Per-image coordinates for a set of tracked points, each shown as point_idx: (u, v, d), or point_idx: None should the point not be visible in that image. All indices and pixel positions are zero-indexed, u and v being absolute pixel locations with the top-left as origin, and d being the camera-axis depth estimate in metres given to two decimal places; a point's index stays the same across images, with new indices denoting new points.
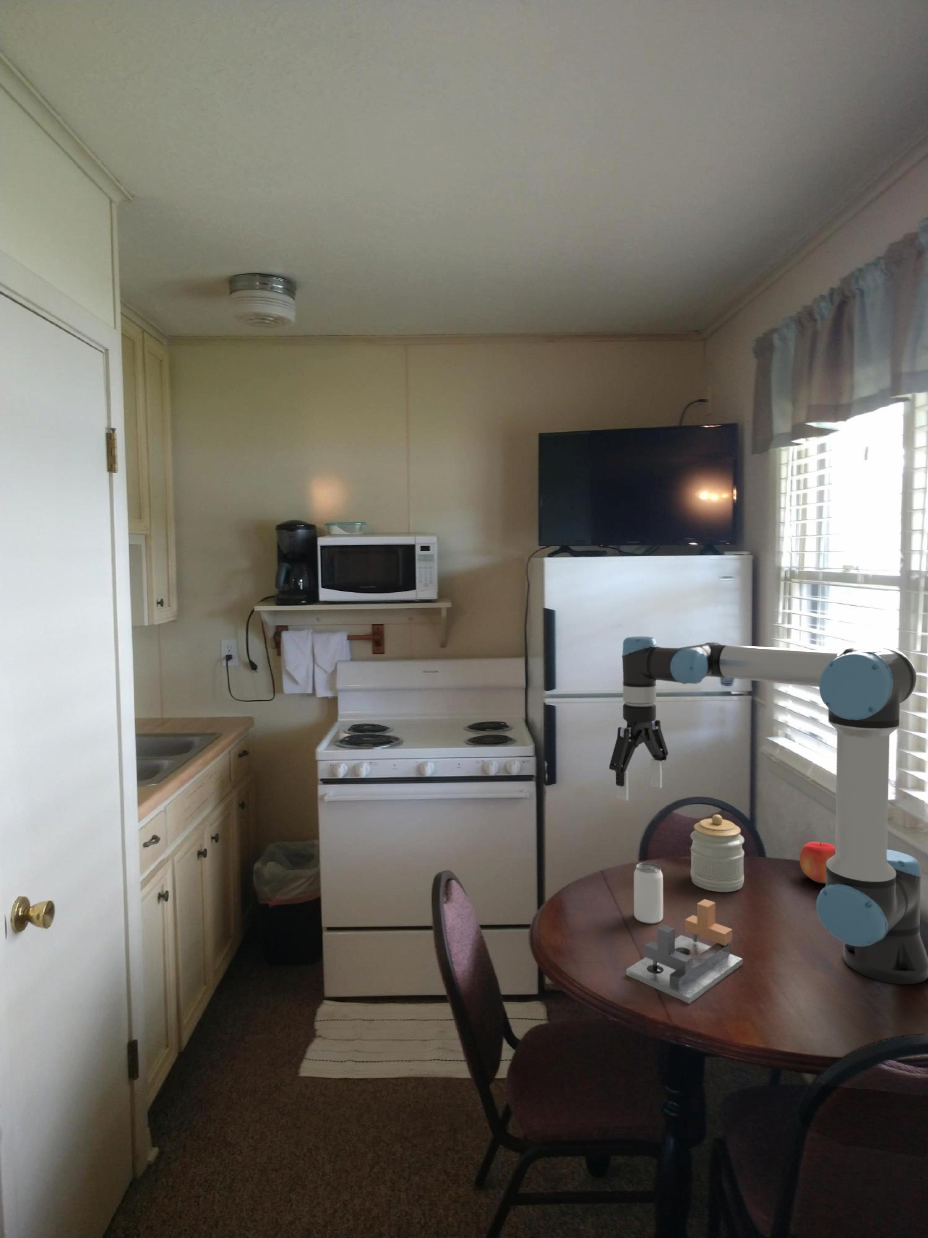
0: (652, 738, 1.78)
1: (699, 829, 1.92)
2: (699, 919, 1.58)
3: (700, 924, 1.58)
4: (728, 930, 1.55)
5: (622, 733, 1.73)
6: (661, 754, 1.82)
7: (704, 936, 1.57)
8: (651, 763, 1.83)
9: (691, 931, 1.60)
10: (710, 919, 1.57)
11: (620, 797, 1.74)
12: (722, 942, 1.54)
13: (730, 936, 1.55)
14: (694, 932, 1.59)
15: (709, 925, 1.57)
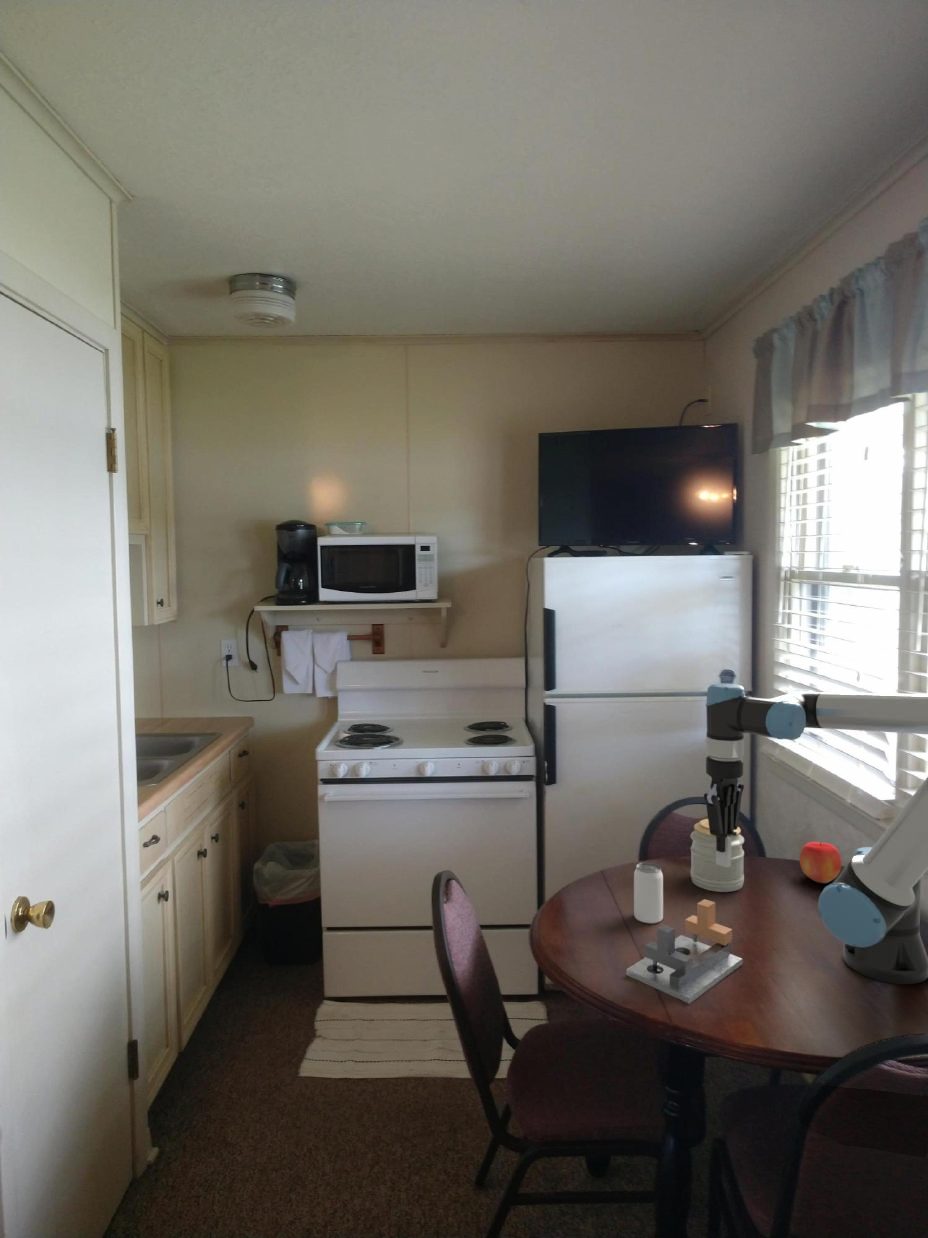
0: (734, 798, 1.62)
1: (699, 829, 1.92)
2: (699, 919, 1.58)
3: (700, 924, 1.58)
4: (728, 930, 1.55)
5: (710, 801, 1.58)
6: (732, 827, 1.63)
7: (704, 936, 1.57)
8: None
9: (691, 931, 1.60)
10: (710, 919, 1.57)
11: (720, 863, 1.63)
12: (722, 942, 1.54)
13: (730, 936, 1.55)
14: (694, 932, 1.59)
15: (709, 925, 1.57)
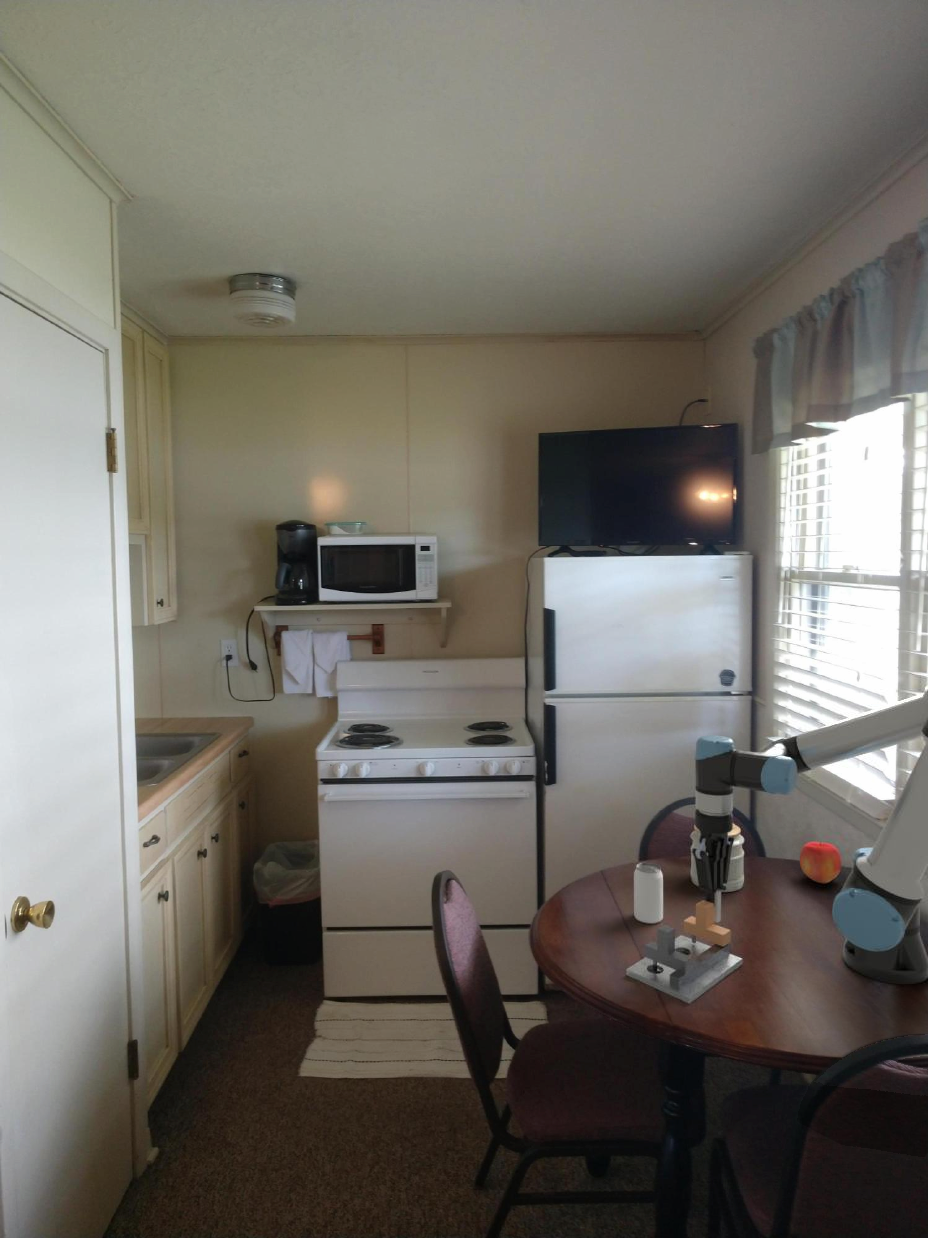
0: (723, 853, 1.59)
1: None
2: (697, 920, 1.58)
3: (698, 925, 1.58)
4: (727, 931, 1.55)
5: (699, 857, 1.56)
6: (722, 882, 1.60)
7: (702, 937, 1.57)
8: None
9: (689, 932, 1.59)
10: (709, 920, 1.57)
11: None
12: (721, 943, 1.54)
13: (728, 937, 1.55)
14: (692, 933, 1.59)
15: (708, 926, 1.57)
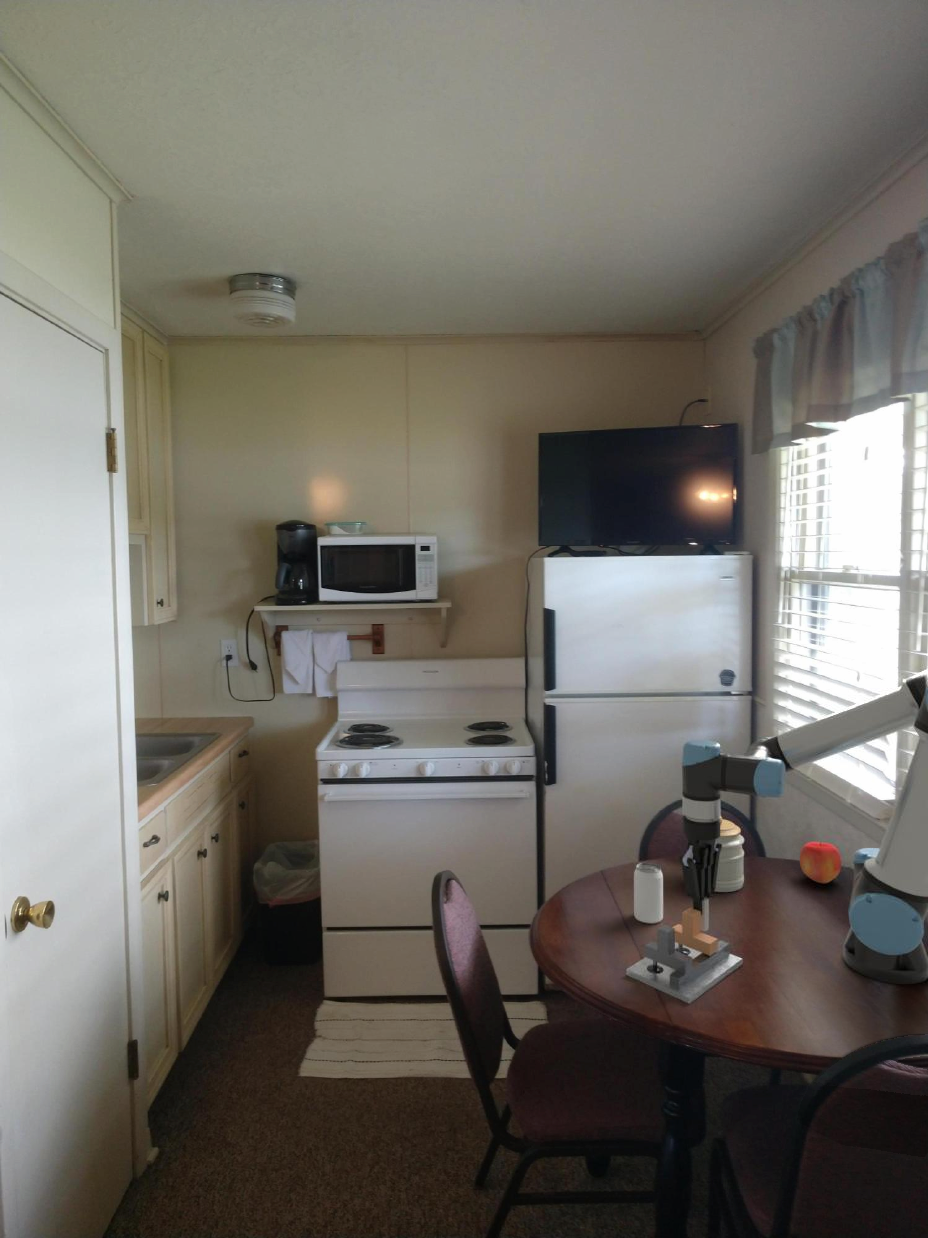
0: (711, 860, 1.56)
1: None
2: (684, 928, 1.54)
3: (685, 933, 1.54)
4: (713, 940, 1.52)
5: (686, 864, 1.52)
6: (710, 889, 1.57)
7: (689, 946, 1.54)
8: None
9: (676, 940, 1.56)
10: (696, 928, 1.54)
11: None
12: (707, 952, 1.51)
13: (715, 946, 1.52)
14: (679, 941, 1.55)
15: (694, 934, 1.53)
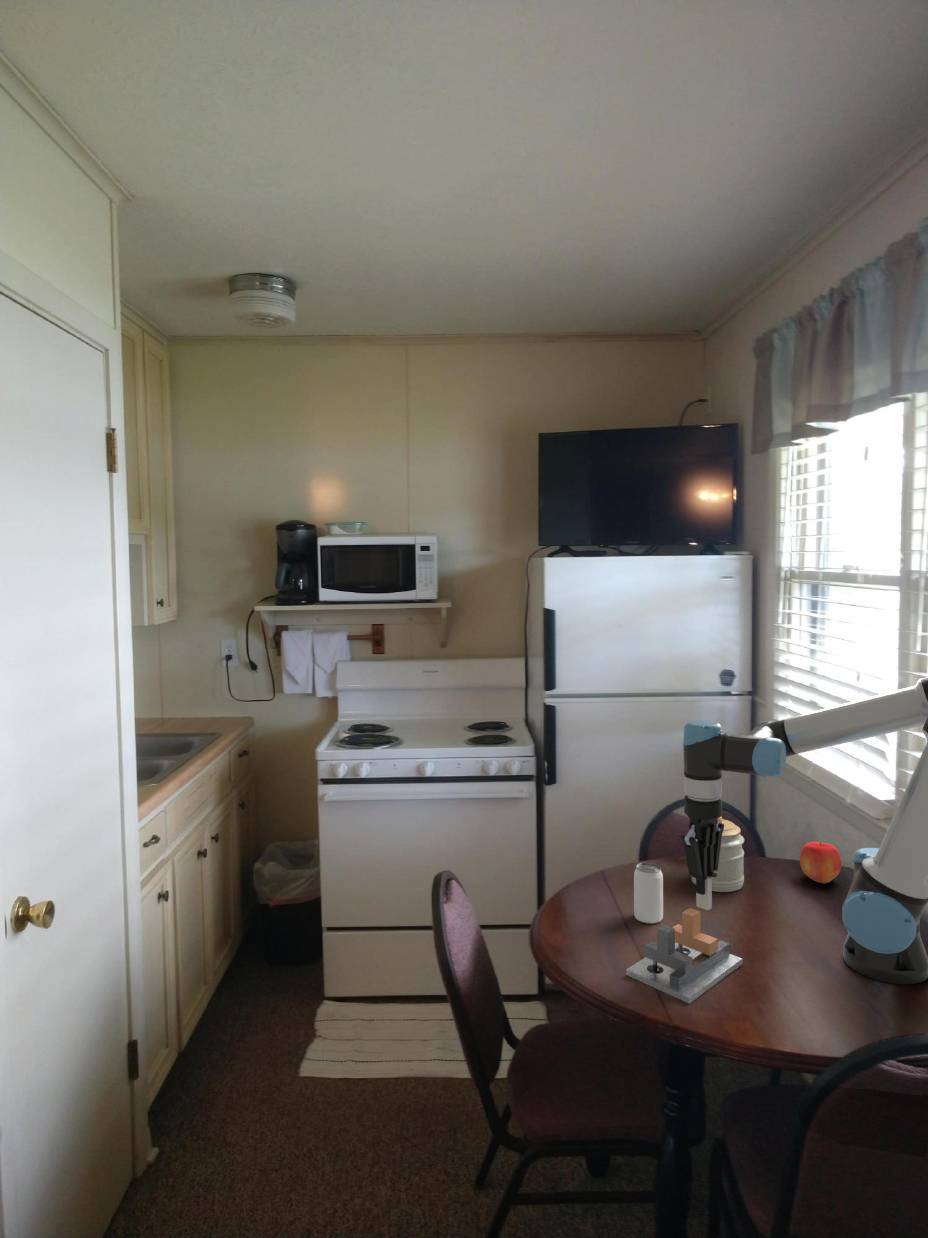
0: (713, 839, 1.57)
1: None
2: (684, 928, 1.54)
3: (685, 933, 1.54)
4: (713, 940, 1.52)
5: (688, 843, 1.54)
6: (712, 868, 1.58)
7: (689, 946, 1.54)
8: None
9: (676, 941, 1.56)
10: (695, 928, 1.54)
11: (701, 906, 1.59)
12: (707, 952, 1.51)
13: (715, 946, 1.52)
14: (679, 942, 1.55)
15: (694, 935, 1.53)
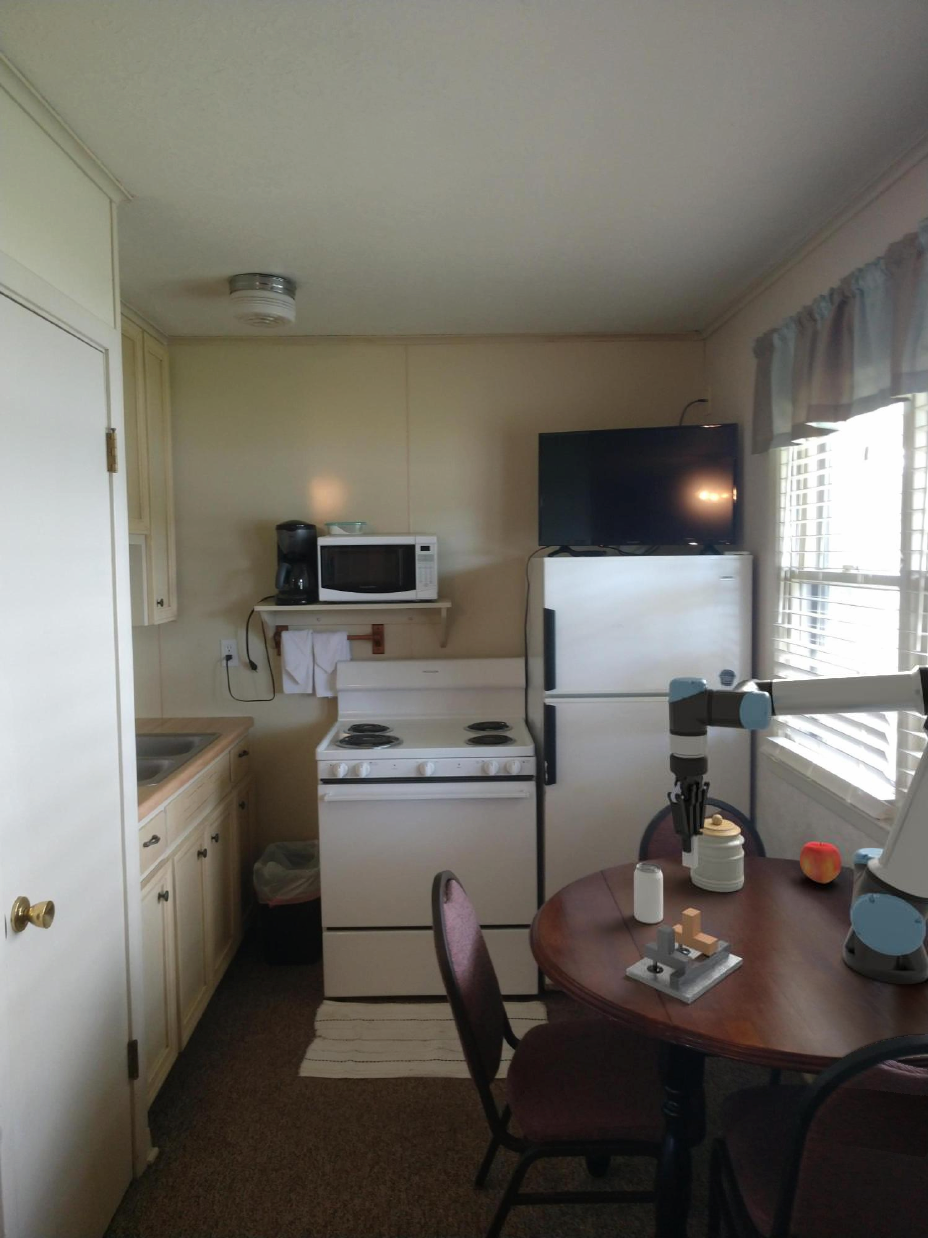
0: (699, 797, 1.56)
1: None
2: (684, 928, 1.54)
3: (685, 933, 1.54)
4: (713, 940, 1.52)
5: (674, 800, 1.52)
6: (698, 827, 1.57)
7: (689, 946, 1.54)
8: None
9: (676, 941, 1.56)
10: (695, 928, 1.54)
11: (687, 864, 1.57)
12: (707, 952, 1.51)
13: (715, 946, 1.52)
14: (679, 942, 1.55)
15: (694, 935, 1.53)
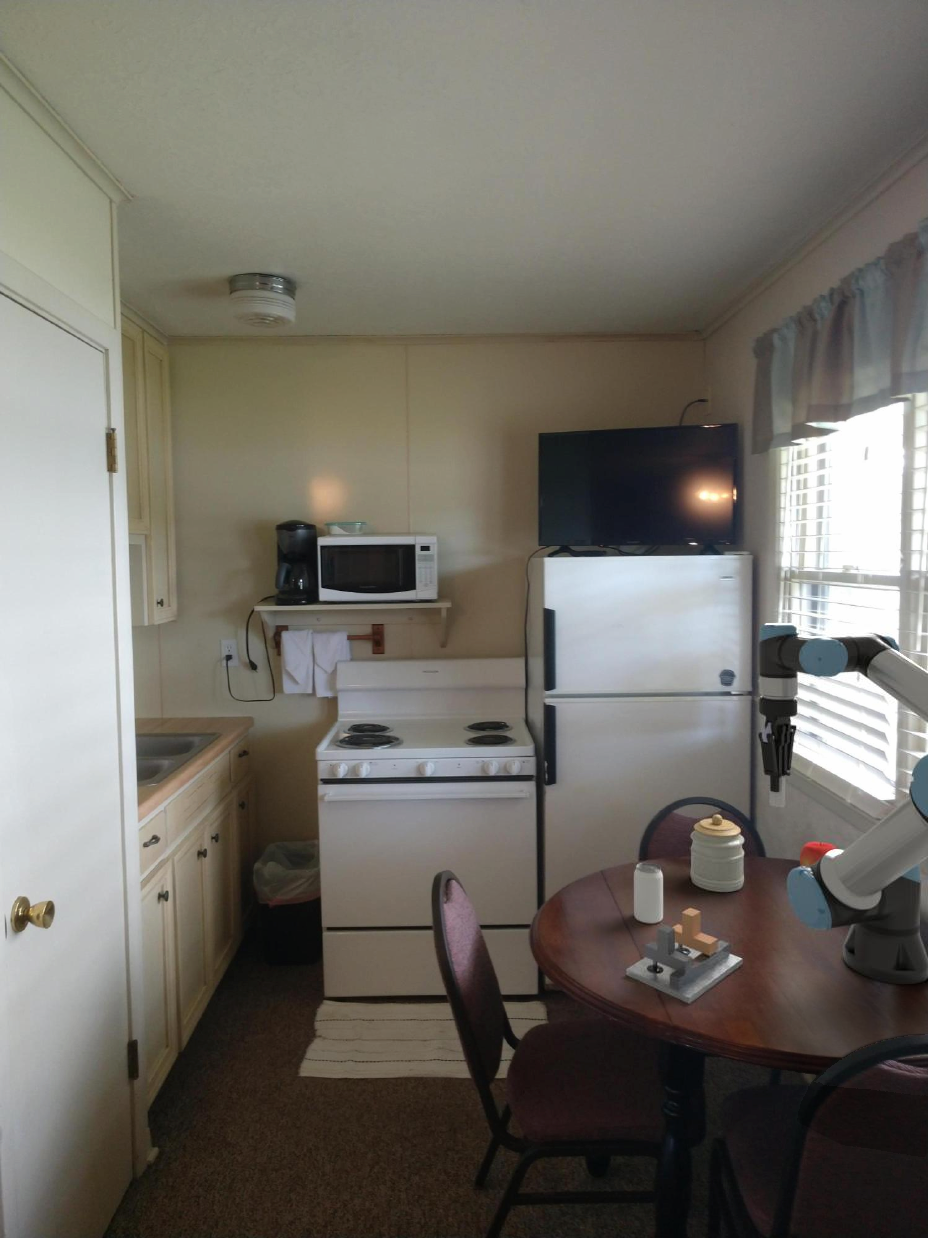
0: (787, 738, 1.61)
1: (699, 829, 1.92)
2: (684, 928, 1.54)
3: (685, 933, 1.54)
4: (713, 940, 1.52)
5: (765, 740, 1.57)
6: (786, 767, 1.62)
7: (689, 946, 1.54)
8: None
9: (676, 941, 1.56)
10: (695, 928, 1.54)
11: (774, 804, 1.62)
12: (707, 952, 1.51)
13: (715, 946, 1.52)
14: (679, 942, 1.55)
15: (694, 935, 1.53)
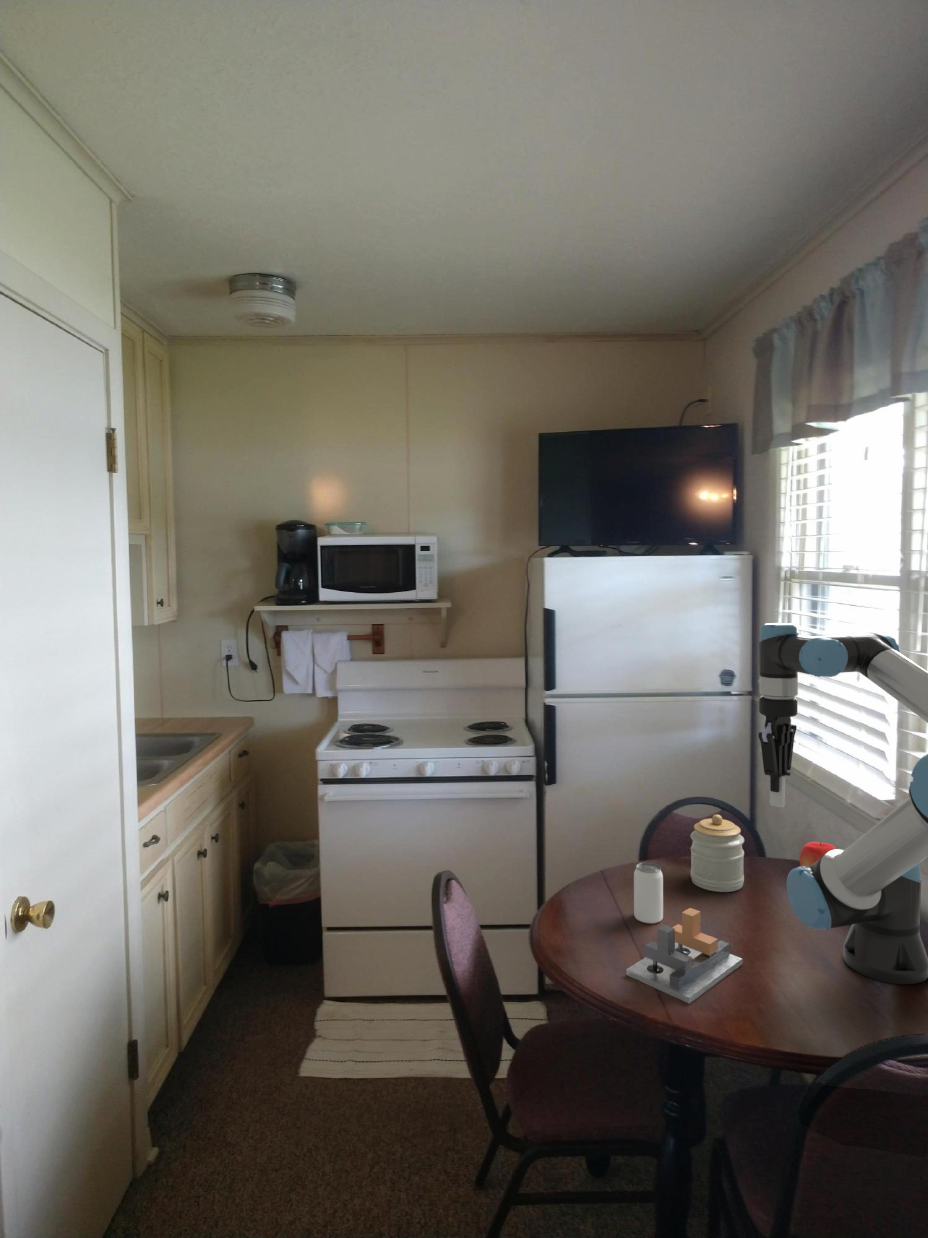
0: (788, 738, 1.61)
1: (699, 829, 1.92)
2: (684, 928, 1.54)
3: (685, 933, 1.54)
4: (713, 940, 1.52)
5: (765, 740, 1.57)
6: (786, 767, 1.62)
7: (689, 946, 1.54)
8: None
9: (676, 941, 1.56)
10: (695, 928, 1.54)
11: (774, 804, 1.62)
12: (707, 952, 1.51)
13: (715, 946, 1.52)
14: (679, 942, 1.55)
15: (694, 935, 1.53)
